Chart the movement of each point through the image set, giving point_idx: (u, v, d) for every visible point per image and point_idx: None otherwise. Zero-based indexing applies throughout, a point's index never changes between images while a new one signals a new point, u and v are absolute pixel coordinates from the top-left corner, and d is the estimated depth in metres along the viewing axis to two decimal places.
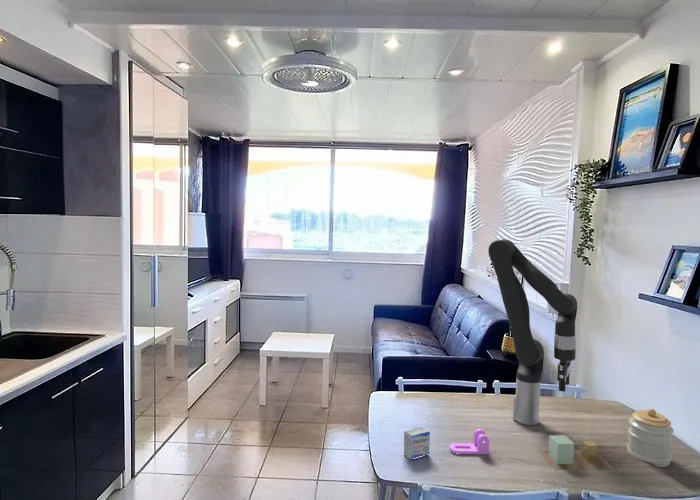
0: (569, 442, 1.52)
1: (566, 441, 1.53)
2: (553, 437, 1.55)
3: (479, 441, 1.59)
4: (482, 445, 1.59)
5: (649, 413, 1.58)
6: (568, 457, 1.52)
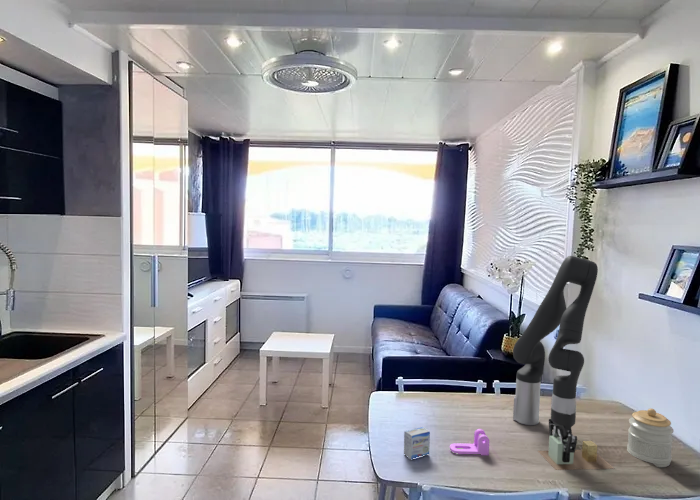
0: None
1: None
2: (553, 437, 1.55)
3: (479, 441, 1.59)
4: (482, 445, 1.59)
5: (649, 413, 1.58)
6: None
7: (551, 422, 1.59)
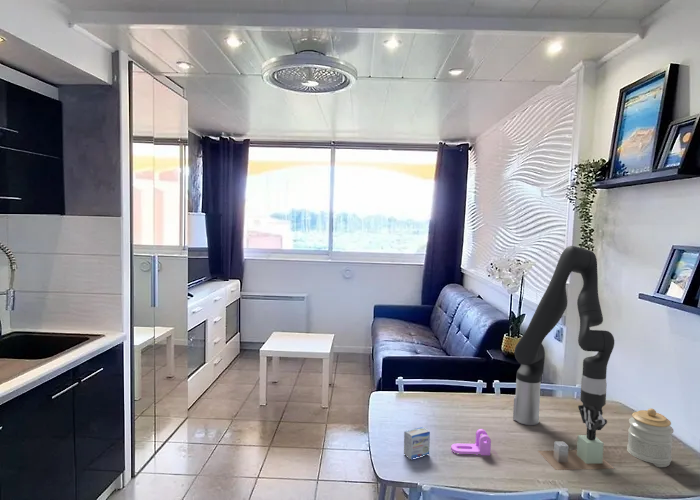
0: (598, 441, 1.53)
1: (595, 440, 1.53)
2: (582, 436, 1.56)
3: (481, 441, 1.59)
4: (484, 445, 1.59)
5: (649, 413, 1.58)
6: (598, 457, 1.52)
7: (581, 408, 1.59)
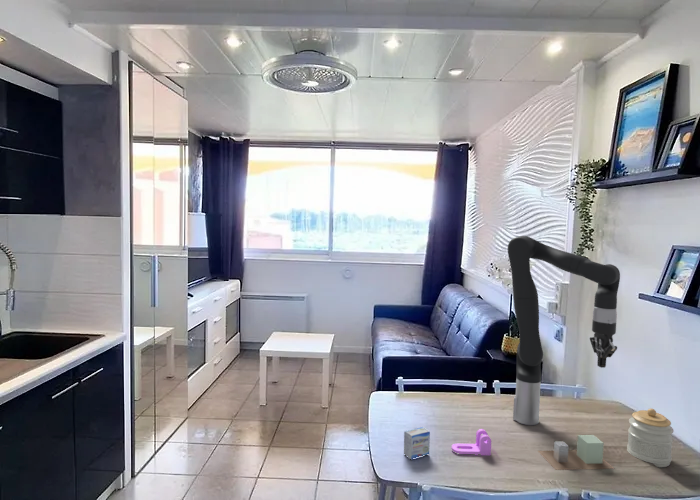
0: (598, 441, 1.53)
1: (595, 440, 1.53)
2: (582, 436, 1.56)
3: (481, 441, 1.59)
4: (484, 445, 1.59)
5: (649, 413, 1.58)
6: (598, 457, 1.52)
7: (592, 339, 1.71)
